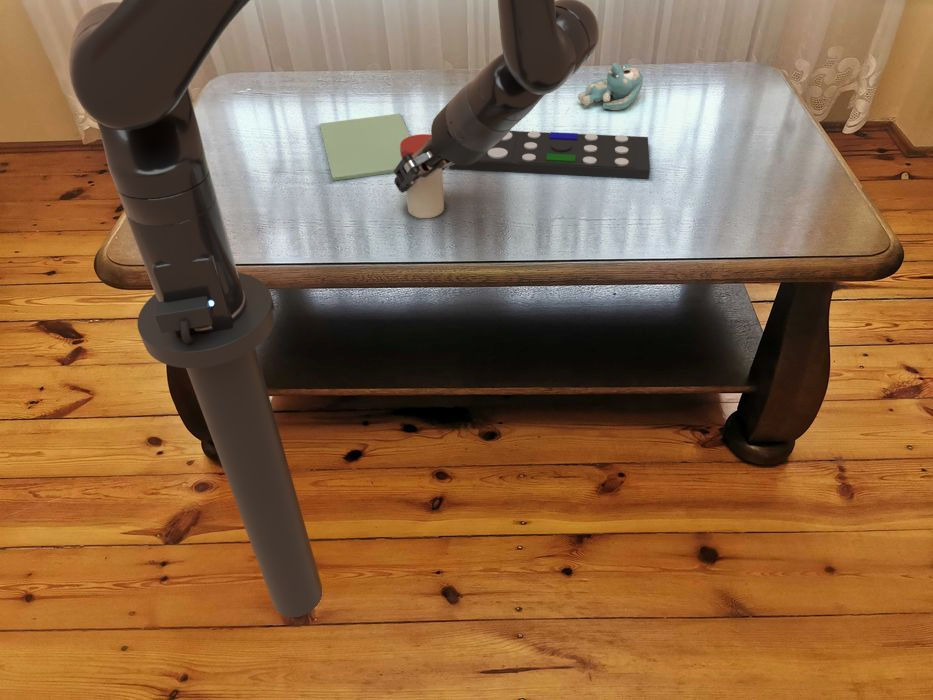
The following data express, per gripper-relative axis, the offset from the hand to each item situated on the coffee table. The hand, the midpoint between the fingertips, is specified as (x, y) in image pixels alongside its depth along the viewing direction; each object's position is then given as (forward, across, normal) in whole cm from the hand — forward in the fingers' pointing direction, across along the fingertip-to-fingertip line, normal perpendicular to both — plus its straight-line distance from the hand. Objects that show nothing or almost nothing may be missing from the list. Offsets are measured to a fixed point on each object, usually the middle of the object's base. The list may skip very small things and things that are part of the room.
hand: (415, 178), depth 105 cm
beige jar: (+2, 0, +4) cm, 5 cm away
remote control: (0, -24, +6) cm, 25 cm away
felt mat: (+17, -7, -11) cm, 21 cm away
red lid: (-5, 0, -2) cm, 6 cm away
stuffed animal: (+4, -47, +2) cm, 48 cm away
